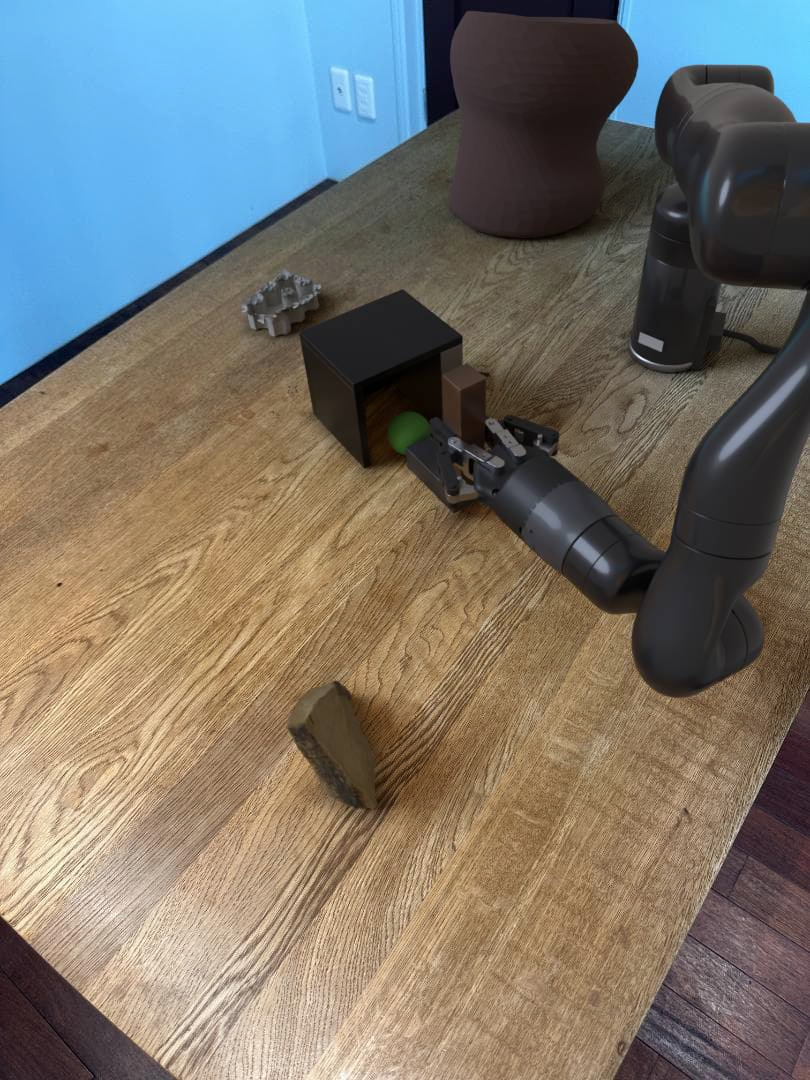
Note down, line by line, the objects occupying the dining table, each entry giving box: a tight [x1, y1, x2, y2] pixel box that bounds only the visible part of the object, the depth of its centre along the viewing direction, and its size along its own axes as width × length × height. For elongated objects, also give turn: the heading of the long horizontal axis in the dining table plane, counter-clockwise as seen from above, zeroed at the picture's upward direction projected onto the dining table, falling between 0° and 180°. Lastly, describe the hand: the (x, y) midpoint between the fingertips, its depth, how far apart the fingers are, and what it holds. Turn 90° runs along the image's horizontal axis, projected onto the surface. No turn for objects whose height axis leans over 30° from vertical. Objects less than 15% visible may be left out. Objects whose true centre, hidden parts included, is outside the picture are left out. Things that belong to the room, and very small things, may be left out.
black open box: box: [298, 288, 464, 469], centre depth 94 cm, size 12×14×12 cm
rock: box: [286, 680, 378, 810], centre depth 68 cm, size 11×9×10 cm
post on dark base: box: [405, 362, 487, 514], centre depth 84 cm, size 9×5×16 cm, turn 33°
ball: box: [386, 410, 430, 456], centre depth 93 cm, size 5×5×5 cm
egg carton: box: [240, 268, 323, 338], centre depth 113 cm, size 11×8×4 cm
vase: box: [448, 10, 639, 239], centre depth 121 cm, size 27×27×30 cm
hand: (447, 418), depth 83 cm, fingers closed on post on dark base, 3 cm apart
